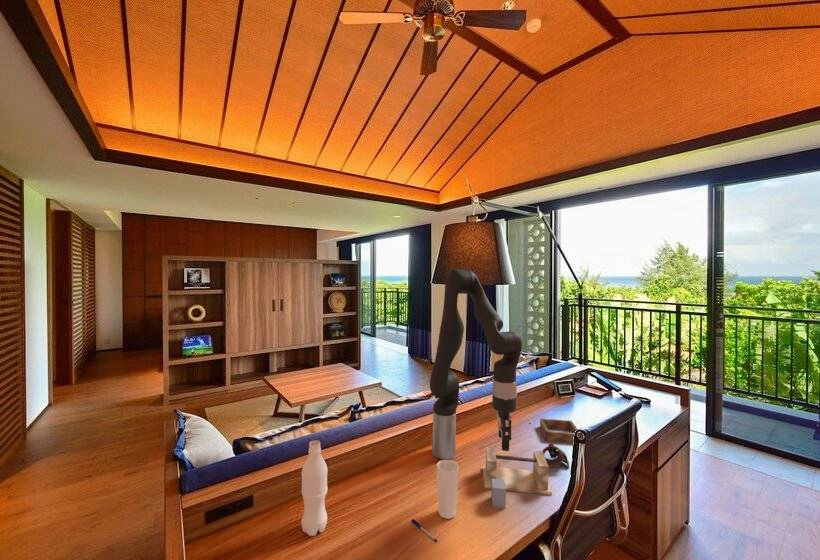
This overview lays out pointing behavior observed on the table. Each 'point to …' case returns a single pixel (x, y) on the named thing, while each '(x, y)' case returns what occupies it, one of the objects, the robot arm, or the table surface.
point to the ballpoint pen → (423, 529)
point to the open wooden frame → (557, 424)
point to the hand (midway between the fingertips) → (503, 443)
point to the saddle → (498, 493)
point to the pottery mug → (555, 456)
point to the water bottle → (314, 490)
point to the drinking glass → (447, 487)
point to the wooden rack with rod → (518, 473)
